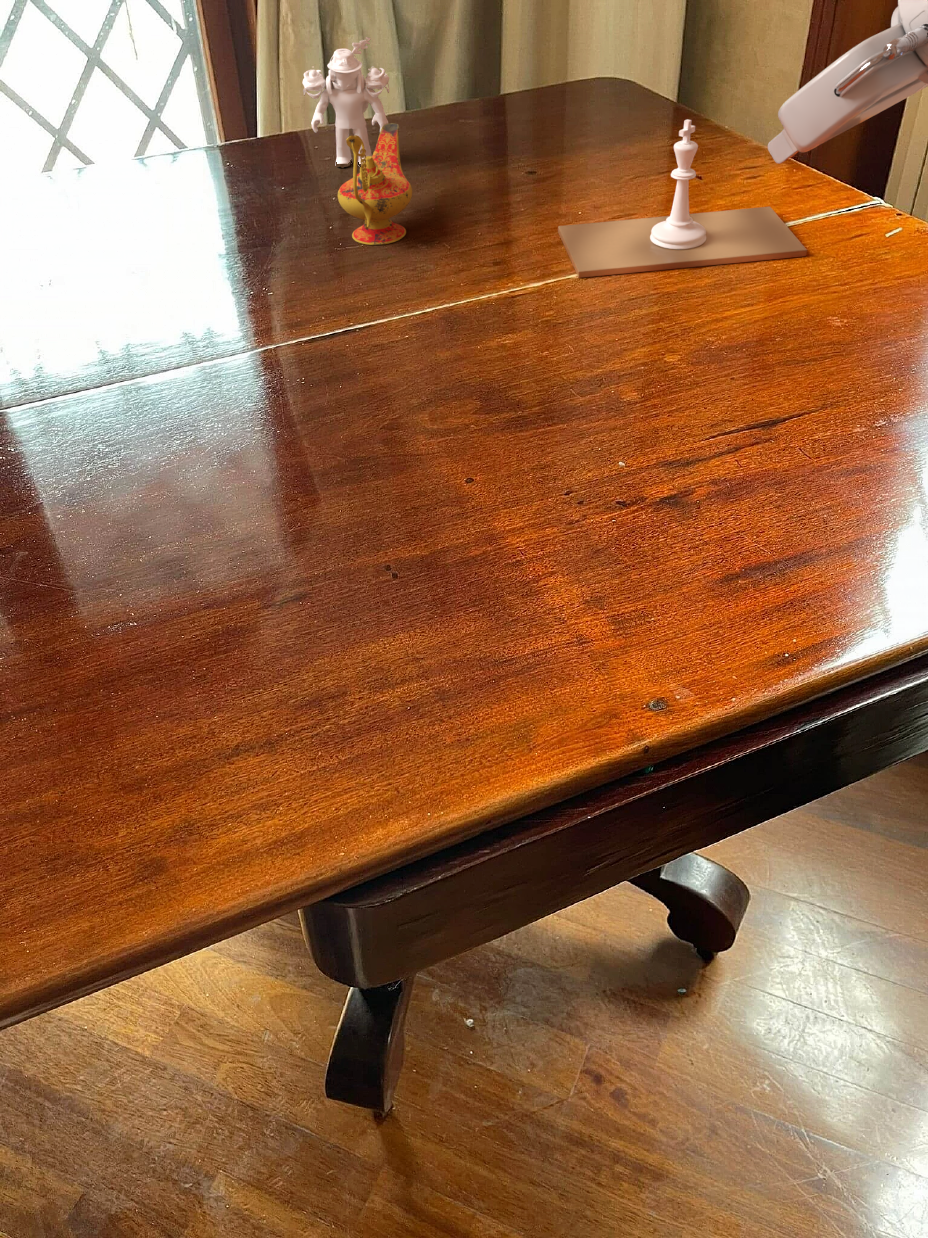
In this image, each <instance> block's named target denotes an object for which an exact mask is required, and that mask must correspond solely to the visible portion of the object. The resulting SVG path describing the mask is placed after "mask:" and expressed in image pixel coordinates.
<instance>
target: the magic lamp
mask: <svg viewBox="0 0 928 1238" xmlns="http://www.w3.org/2000/svg"><path fill="white" fill-rule="evenodd" d="M399 135H400V125H399V124H398V123H397V122H391V123H389V122H388V124H385V125H384V126H383V127H382V129H381V132H380V131H379V135H378V138H377V142H376V145H375V147H374V150H373V153H372V156H367V157H366V155H365V153H366V150H365V149H364V143H363V141H362V139H361V138H360V137H359V136H357V135H354V134H353V135H352V134H351V135H349V137H348V138H347V140H346V142H347V145H348V146H349V147H350V150H351V152H352V153H353V169H352V170H353V171H352V178H350V179H349V180H347V181H345V182H344V183H343V184H341V186H340V187H339V188H338V192H337V200H338V203H339V205H340V207H341V208H342V210H344V211H345V212H346V213H347V214H349V215H350V216H351V217H354V218H357V219H360V220H363V221H364V223H363V224H362V225H361V226H359V227H357V228H356V229H354V230H353V232H352V234H351V237H352V239H353V241H355V242H356V243H359V244H362V245H365V246H366V245H367V246H382V245H388V244H392V243H395V242H398V241H400V240H402V239H403V238H404V237H405V236H406V234H407V230H406V228H405V227H404V226H403V225H401V224H399V223H395V222H393V221H392V220H391V218H393V217H394V216H397V215H398V214H400V213H402V212H403V211H404V210H405V209H406V208H407V207H408V205H409V204H410V202H411V201H412V198H413V197H412V196H413V188H412V185H411V183H410V181H409V180H408V179H407V177H406V175H405V174H404V171H403V169H402V164H401V156H400V138H399V137H400V136H399ZM361 144H362V149H361V150H360V147H361ZM359 150H360V154H359ZM361 152H362V153H361ZM358 156H360V159H361V161H360V163H361V167H360V166H359V172H358ZM364 156H365V157H364ZM362 158H364V159H362ZM364 161H365V162H364Z"/></svg>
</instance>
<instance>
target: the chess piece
mask: <svg viewBox="0 0 928 1238" xmlns="http://www.w3.org/2000/svg"><path fill="white" fill-rule="evenodd" d="M694 132H696V125H692V119H688V118H687V119H685V120H684V121H683V128H682V129H680V130H679V131H678V137H681V138H682V139H681V140H679V141H677V142H675V143H674V144H673V151H674V154H675V155H674V156H675V158H676V163H677V168H674V169H673V170H672V171H671V173H670V177H671V178H672V179H674V180H676V186H675V192H674V195H673V201H672V206H671V211H670V214H669V215H668V216H669V217H668V218H667V219H666V221H663V222H660V223H658V224H656V225H655V226H654V227H653V228H652V230H651V235H650V240H651V241H652V242H653V243H654V244H656V245H658V246H660V247H663V248H668V249H690V248H694V247H697V246H700V245H702V244H703V243H704V242H705V241H706V229H705V228H704V227H703V226H702V225H701V224H699V223H697V222H694V221H693V219H692V218H691V217H690V215H689V214H690V198H689V195H690V193H689V191H690V189H689V188H690V187H689V180H693V179H695V178H696V177H697V173H696V170H695V169H693V168H692V167H691V166H692V163H693V161H694V158H695V155H696V153H697V151H698V148H699V145H698V143H697V142H696V141H693V140H691V134H693V133H694Z"/></svg>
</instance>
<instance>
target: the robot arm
mask: <svg viewBox="0 0 928 1238" xmlns="http://www.w3.org/2000/svg"><path fill="white" fill-rule="evenodd" d="M926 88H928V0H897V6H896V7H895V9H894V10H893V12H892V15H891V20H890V27H889V28H887V29H885V30H882V31H880V32H879V33H877V34H874V35H872V36H869V37H868V38H866V39H864V40H863V41H861V42H860V43H858V44H856V45H855V46H853V47H852V48H850V49H849V50H848V51H847V52H844V53H843V54H842V55H840V56H839V57H838V58H837V59H836V60H834V61H833V62H832V63H830V64H829V65H828V66H826V68H824V69H823V70H822V71H820V72H819V73H818V74H816V76H814V77H813V78H812V79H810V81H808V82H807V83H806V84H804V85H803V86H802V87H801V88H799V89H798V90H797V91H796V92H795V93H793V94H792V95H791V96H790V97H788V99H786V100H785V101H784V102H783V104H782V105H781V106H780V108H779V109H778V112H777V117H778V120H779V122H780V124H781V126H782V127H783V129H782V130H781V131H780V132H779V133H778V134H777V135H776V136H775V137H773V138H772V139H771V140H770V141H769V142H768V144H767V150H768V152H769V154H770V156H771V157H772V159H773V161H774V162H775V163H776V164H782V163H784V162H786V161H788V160H790V159H792V158H793V157H795V155H797V154H798V153H808V152H810V151H811V150H813V149H815V148H817V147H819V146H821V145H822V144H825V143H826V142H828V141H829V140H832V139H834V138H835V137H837V136H839V135H841V134H843V133H844V132H847V131H849V130H850V129H853V128H854V127H855V126H858V125H859V124H861V123H863V122H865V121H867V120H868V119H870V118H872V117H874V116H876V115H878V114H880V113H881V112H883V111H885V110H887V109H889V108H891V107H892V106H894V105H896V104H898V103H900V102H901V101H903V100H905V99H908V98H909V97H911V96H913V95H915V94H916V93H919V92H920V91H922V90H924V89H926Z"/></svg>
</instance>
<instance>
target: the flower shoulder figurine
mask: <svg viewBox="0 0 928 1238" xmlns="http://www.w3.org/2000/svg"><path fill="white" fill-rule="evenodd" d="M371 40H372V38H371V37H369V36H365V39H362V40H359V42H352V44H351V45H352V47H353V49H352V50H351V49H348V48H345V47H343V48H337V49H335V51H334V52H333V55H332V56H331V58H330V60H329V62H328V63H327V65H326V66H327V68H328V75H327V76H326V77H325V78H324V76H323V74H322V73H321V72H322V70H321V69H308V70H306V71H305V72H303V77H304V78H303V79H302V85H303V87H304V88H303V90H302V93H303V96H306V94H307V95H308V96H309V97H310V98H311V99H313V100H317V99H319V100H318V102H317V104H316V107H315V110H314V113H313V116H312V120H311V122H310V123H311V129H312V131H313V132H314V133H315V134H317V132H319V128H318V126H319V125H320V124H321V125H324V118H325V117H324V113H325V112H326V111H327V109H328V107H329V105H330V104H331V106H332V108H333V110H334V112H335V122H334V127H335V143H336V145H335V146H336V147H335V148H336V153H335V154H336V159H335V163H336V162H337V164H348V163H349V162H350V160H351V159H352V160H353V157H352V153H351V152H352V151H351V148H350V147H349V146H348V145H347V142H346V140H347V138H348V137H349V136H350V130H351V129H352V133H353V136H354V135H357V136H359V137H360V138H361V139H362V141H363V143H364V149H365V150H366V153H365V155H366V157H367V156H372V155H373V153H372V150H371V145H370V141H369V135H368V134H369V133H368V128H367V125H368V124H367V121H366V118H365V112H366V111H367V110H368V107H369V105H370V106H371V109H372V110H373V112H374V115H373V117H372V118H371V119H372V120H371V126H375V123H378V125H379V133H380V132H381V129H382V127H383V126H384V125H385V124H389V121H388V118H387V116H386V112H385V109H384V106H383V103H382V101H381V99H380V98H379V96H380V95H381V94H382V92H383V90H384V88H385V89H386V92H387V94H390V84H389V81H390V77H389V75H388V74H387V73H386V69H384V68H382V67H379V68H378V67H374V65H371V67H370V68H368V69H367V71H368V73H367V76H366V77H365V76H364V74H362V73H363V72H362V66H363V63H362V61H360V60H359V59H358V58H357V56H356V55H362V50H365V49H369V47H368V45H371V42H370V41H371ZM312 68H315V66H312ZM380 70H381V71H380ZM375 90H379V91H375ZM311 91H312V92H313V91H314V92H318V93H315V94H314V93H310V92H311ZM361 149H362V144H361V147H360V150H361ZM360 150H359V154H360ZM361 153H362V152H361ZM364 157H365V156H364ZM362 159H364V158H362ZM360 161H361V159H360V156H358V161H357V163H358V162H359V164H361V163H360ZM364 162H365V161H364Z"/></svg>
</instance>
